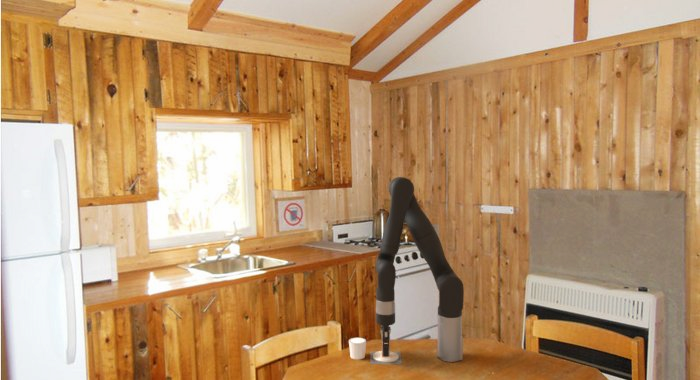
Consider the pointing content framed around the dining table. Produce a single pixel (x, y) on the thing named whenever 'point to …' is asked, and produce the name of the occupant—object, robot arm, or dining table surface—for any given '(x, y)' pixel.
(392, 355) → the lid
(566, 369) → the dining table surface
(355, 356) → the white cup
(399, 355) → the mat
